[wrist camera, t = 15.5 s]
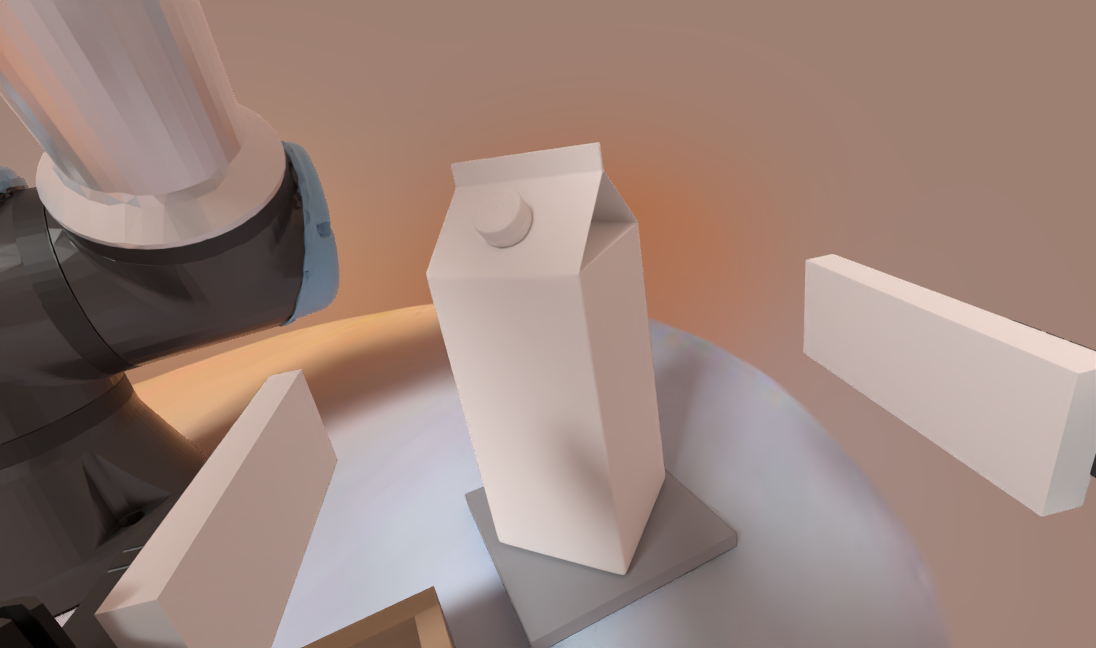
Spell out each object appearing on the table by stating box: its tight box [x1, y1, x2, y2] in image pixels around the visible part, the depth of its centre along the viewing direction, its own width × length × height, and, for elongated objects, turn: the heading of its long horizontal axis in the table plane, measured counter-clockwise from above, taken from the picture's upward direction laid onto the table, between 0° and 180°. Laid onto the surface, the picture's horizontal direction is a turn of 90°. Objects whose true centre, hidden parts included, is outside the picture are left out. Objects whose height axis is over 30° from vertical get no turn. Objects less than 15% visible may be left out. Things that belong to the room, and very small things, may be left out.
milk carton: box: [426, 142, 665, 575], centre depth 25 cm, size 7×7×19 cm
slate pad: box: [465, 470, 737, 648], centre depth 29 cm, size 11×11×1 cm
